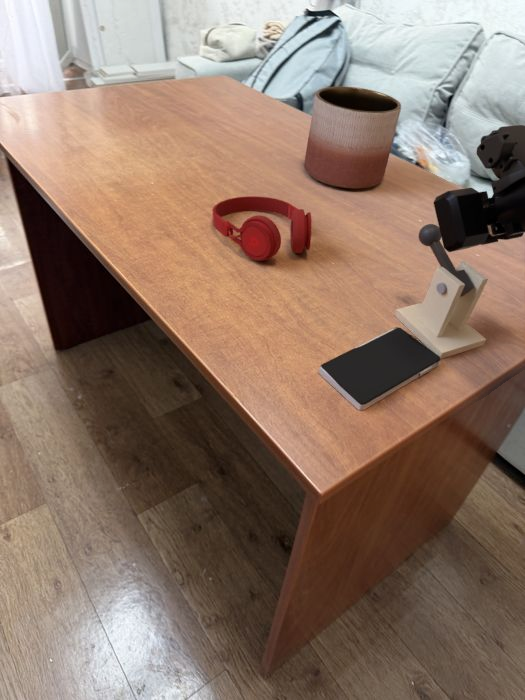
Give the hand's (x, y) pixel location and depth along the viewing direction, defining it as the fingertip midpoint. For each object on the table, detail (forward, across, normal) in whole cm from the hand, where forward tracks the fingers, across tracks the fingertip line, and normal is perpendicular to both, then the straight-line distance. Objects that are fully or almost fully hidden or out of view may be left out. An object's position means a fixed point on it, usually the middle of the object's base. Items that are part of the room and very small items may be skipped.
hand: (453, 232), depth 63 cm
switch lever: (+4, 0, +3) cm, 5 cm away
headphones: (+30, +13, -10) cm, 34 cm away
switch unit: (+7, 0, +12) cm, 14 cm away
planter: (+43, -16, -23) cm, 52 cm away
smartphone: (+5, +13, +15) cm, 20 cm away
